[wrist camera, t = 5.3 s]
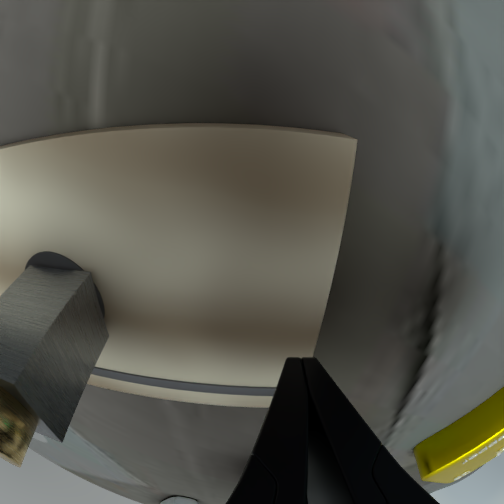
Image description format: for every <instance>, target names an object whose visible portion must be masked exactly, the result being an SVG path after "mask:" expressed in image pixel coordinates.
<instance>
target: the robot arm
mask: <svg viewBox="0 0 504 504" xmlns="http://www.w3.org/2000/svg"><path fill="white" fill-rule="evenodd" d="M381 444H382V443H381V441H380V440H379V439H378V438H377V436H376V435H375V434H374V432H373V431H372V430H371V429H370V427H369V426H368V425H367V423H366V422H365V421H364V420H363V418H362V417H361V416H360V414H359V413H358V412H357V411H356V409H355V408H354V407H353V405H352V404H351V403H350V402H349V400H348V399H347V398H346V396H345V395H344V394H343V392H342V391H341V390H340V389H339V387H338V386H337V385H336V383H335V382H334V381H333V379H332V378H331V377H330V376H329V374H328V373H327V372H326V370H325V369H324V368H323V366H322V365H321V364H320V362H319V361H318V360H317V359H316V358H315V357H302V358H300V357H287V358H286V360H285V363H284V366H283V369H282V372H281V375H280V378H279V381H278V384H277V387H276V389H275V392H274V395H273V398H272V401H271V403H270V406H269V409H268V412H267V414H266V417H265V420H264V422H263V425H262V428H261V430H260V433H259V435H258V438H257V441H256V443H255V446H254V448H253V451H252V455H250V458H249V460H248V463H247V465H246V467H245V470H244V472H243V474H242V476H241V478H240V480H239V482H238V484H237V486H236V488H235V489H234V491H233V493H232V494H231V496H230V498H229V499H228V501H227V502H226V504H440V503H438V502H437V501H436V500H435V499H434V498H433V497H432V496H431V495H430V494H429V493H427V492H426V491H425V490H424V489H423V488H422V487H421V486H420V485H419V484H418V483H417V482H416V481H415V480H414V479H413V478H412V477H411V476H410V475H409V474H408V473H407V472H406V471H405V470H404V469H403V468H402V467H401V466H400V465H399V464H398V462H397V461H396V460H395V459H394V458H393V456H392V455H391V454H390V453H389V452H388V450H387V449H386V448H385V446H384V445H381Z"/></svg>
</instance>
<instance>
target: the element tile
mask: <svg viewBox="0 0 504 504" xmlns="http://www.w3.org/2000/svg"><path fill="white" fill-rule="evenodd" d="M413 451H414V455H415V458H416V462H417V465H418V469H419V473H420V476H421V479H422V481H429V482H438V483H451V482H453V481H455V480H457V479H459V478H461V477H463V476H465V475H467V474H468V473H470V472H472V471H473V470H475V469H477V468H478V467H480V466H482V465H483V464H485V463H486V462H488V461H490V460H491V459H493V458H494V457H496V456H499V455H500V453H502V452H503V451H504V387H503V388H502V389H500V390H499V391H498V392H496V393H495V394H494V395H493V396H491V397H490V398H489V399H487V400H486V401H485V402H483V403H482V404H480V405H479V406H478V407H476V408H475V409H473V410H472V411H471V412H469V413H468V414H466V415H465V416H463V417H462V418H460V419H459V420H457V421H455V422H454V423H452V424H451V425H449V426H447V427H446V428H444V429H442V430H441V431H439V432H437V433H436V434H434V435H432V436H430V437H429V438H427V439H425V440H424V441H422V442H420V443H419V444H418V445H416V446H415V447H414V449H413Z"/></svg>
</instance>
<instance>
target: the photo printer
mask: <svg viewBox="0 0 504 504" xmlns="http://www.w3.org/2000/svg"><path fill="white" fill-rule="evenodd" d="M160 504H198V502H196V500H194V499H190V498H186V497H180V496H177V497H171V498H168V499H166V500H164V501H162V502H161V503H160Z"/></svg>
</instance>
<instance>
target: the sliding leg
mask: <svg viewBox="0 0 504 504" xmlns="http://www.w3.org/2000/svg"><path fill="white" fill-rule="evenodd" d="M108 338H109V334H108V331H107V328H106V324H105V321H104V318H103V315H102V311H101V308H100V305H99V301H98V298H97V294H96V290H95V287H94V283H93V279H92V275H91V272H88V271H78V270H68V269H59V268H49V267H41V266H32V265H30V266H29V267H28V268H27V269H26V270H25V271H24V272H23V273H22V274H21V275H20V276H19V277H18V278H17V279H16V280H15V281H14V282H13V283H12V284H11V285H10V286H9V287H8V288H7V289H6V290H5V291H4V293H3V294H2V295H1V296H0V457H1V458H3V459H4V460H6V461H8V462H9V463H11V464H13V465H15V466H17V467H21V464H22V462H23V459H24V457H25V454H26V452H27V449H28V447H29V444H30V442H31V439H32V437H33V434H34V432H37V433H40V434H42V435H44V436H47V437H49V438H52V439H54V440H56V441H59V442H63V439H64V437H65V434H66V432H67V429H68V427H69V424H70V422H71V419H72V417H73V414H74V412H75V409H76V407H77V405H78V402H79V400H80V398H81V395H82V393H83V391H84V389H85V386H86V384H87V382H88V380H89V377H90V375H91V373H92V371H93V369H94V367H95V365H96V362H97V360H98V358H99V356H100V354H101V352H102V350H103V348H104V346H105V344H106V342H107V340H108Z"/></svg>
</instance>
